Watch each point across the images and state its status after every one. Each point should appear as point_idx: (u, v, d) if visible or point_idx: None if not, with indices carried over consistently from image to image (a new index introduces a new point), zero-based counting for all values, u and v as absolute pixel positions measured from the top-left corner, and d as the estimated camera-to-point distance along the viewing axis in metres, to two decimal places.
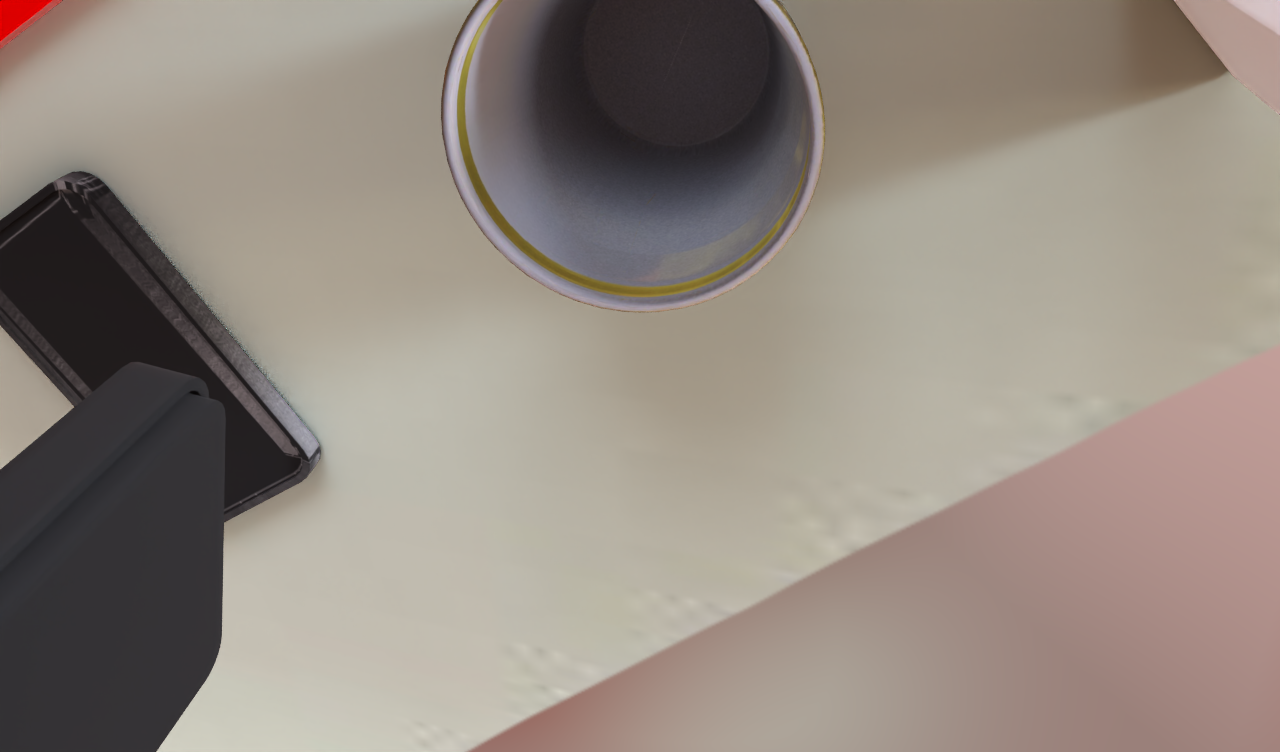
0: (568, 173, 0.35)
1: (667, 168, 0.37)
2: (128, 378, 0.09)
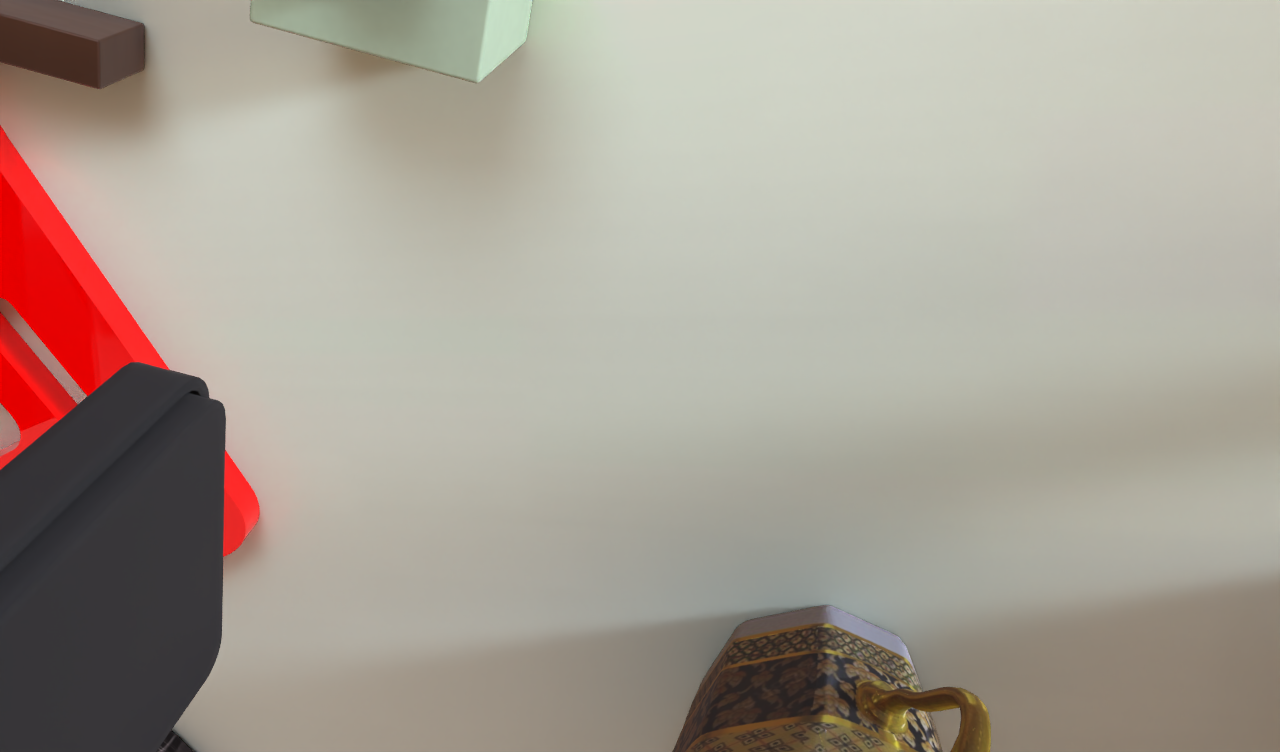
0: None
1: None
2: (127, 378, 0.09)
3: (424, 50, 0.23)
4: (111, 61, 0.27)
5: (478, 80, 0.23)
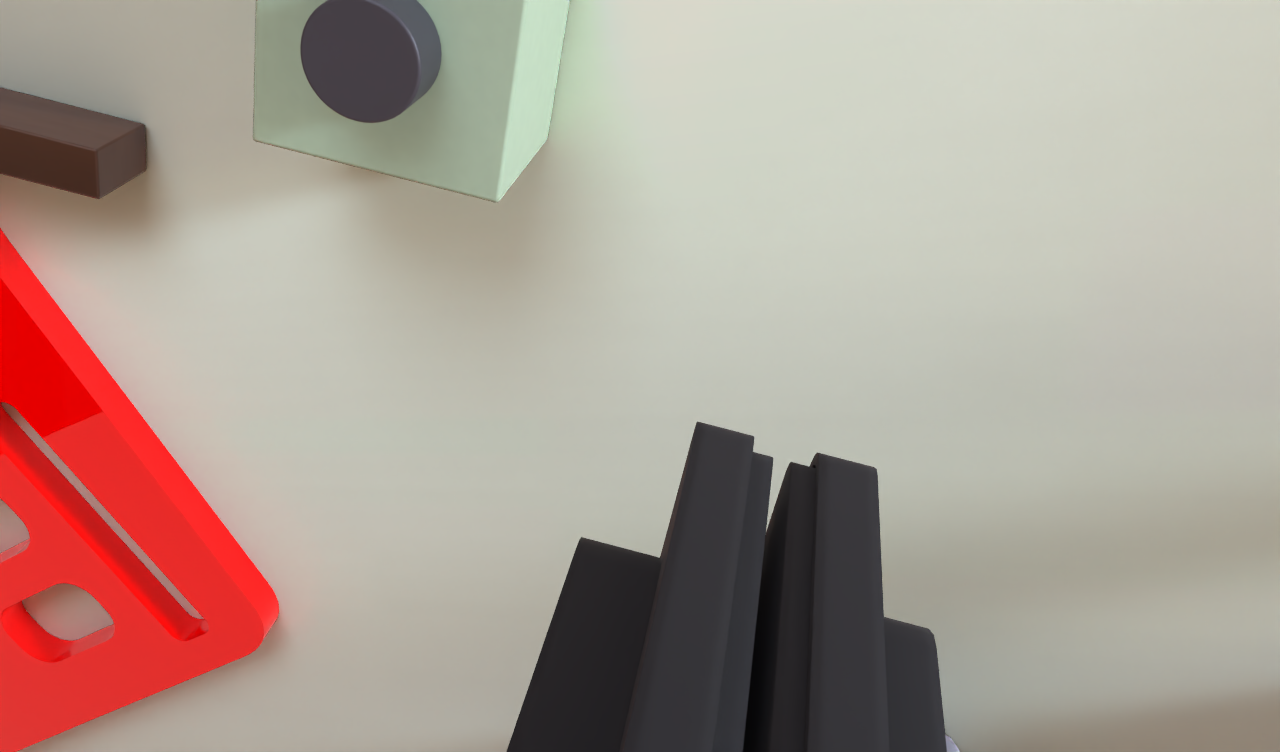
0: None
1: None
2: (708, 438, 0.09)
3: (440, 170, 0.22)
4: (110, 168, 0.26)
5: (498, 199, 0.22)
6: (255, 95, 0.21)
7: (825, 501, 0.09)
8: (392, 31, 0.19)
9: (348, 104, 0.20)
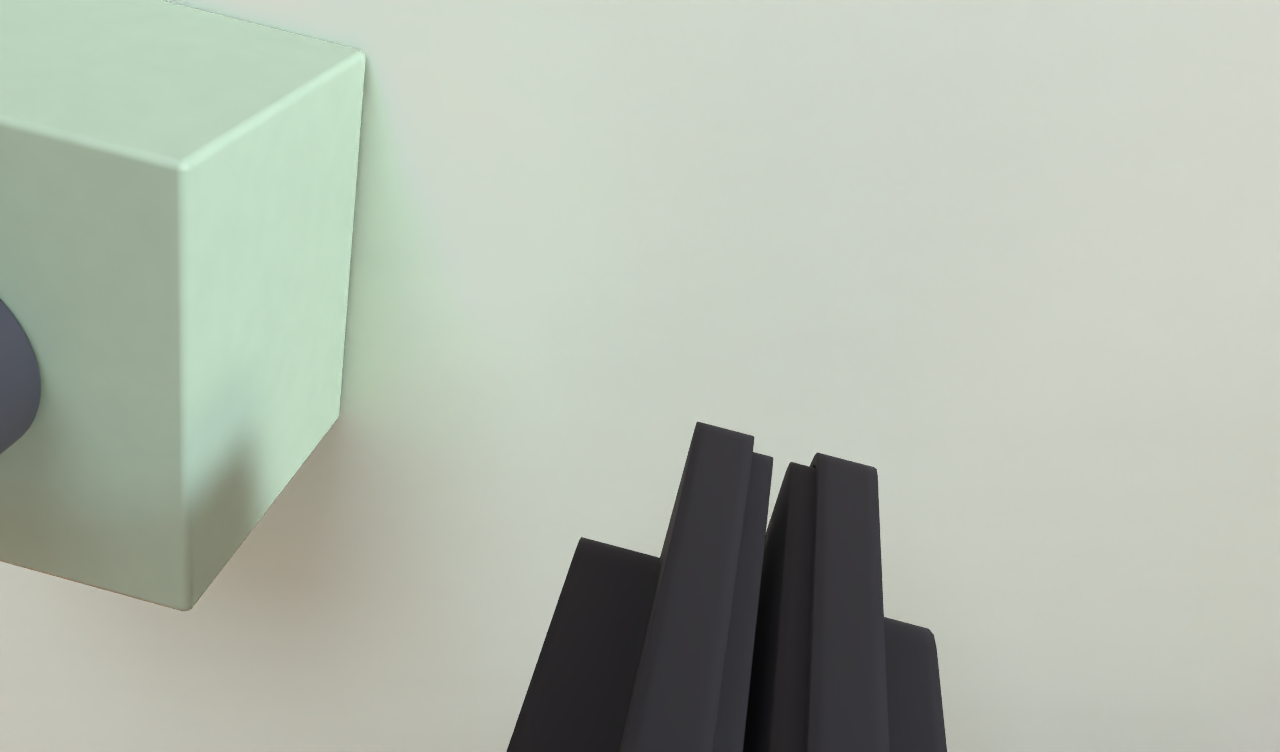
0: None
1: None
2: (708, 438, 0.09)
3: (76, 556, 0.12)
4: None
5: (188, 607, 0.12)
6: None
7: (825, 501, 0.09)
8: None
9: None
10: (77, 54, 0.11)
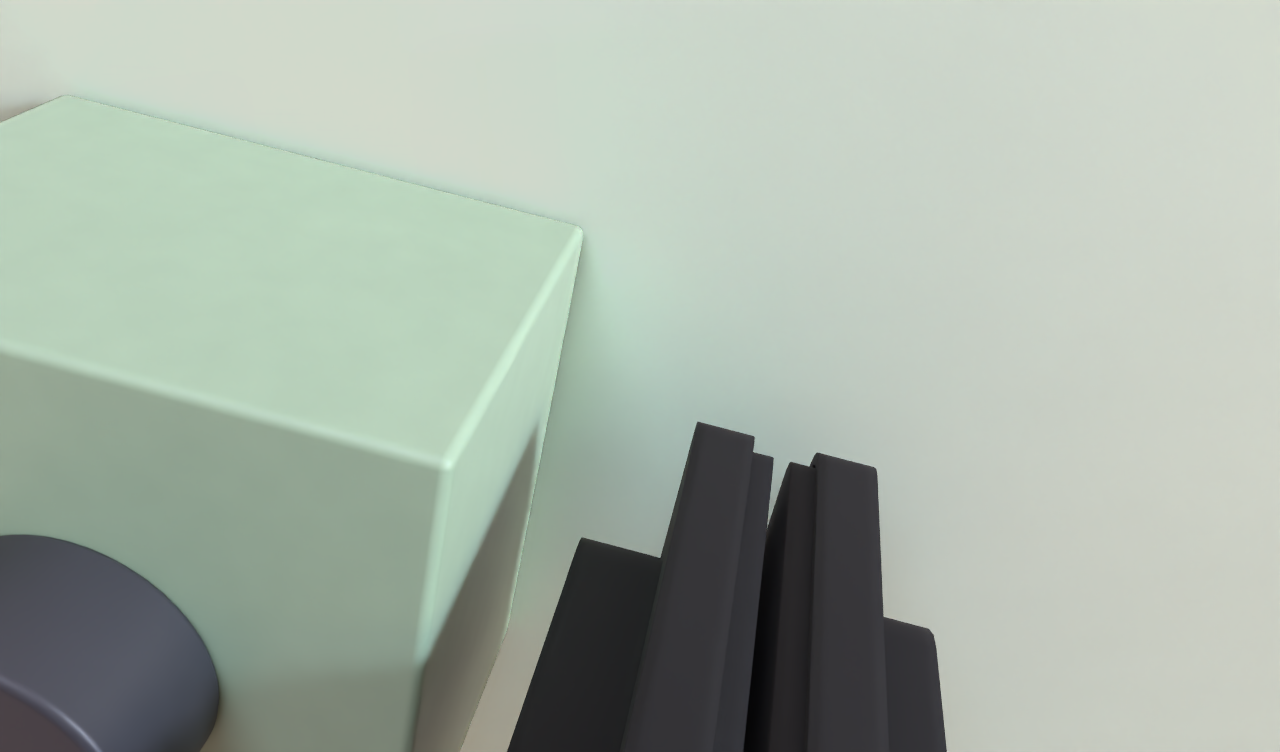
0: None
1: None
2: (709, 439, 0.09)
3: None
4: None
5: None
6: None
7: (825, 501, 0.09)
8: (39, 738, 0.07)
9: None
10: (263, 269, 0.08)
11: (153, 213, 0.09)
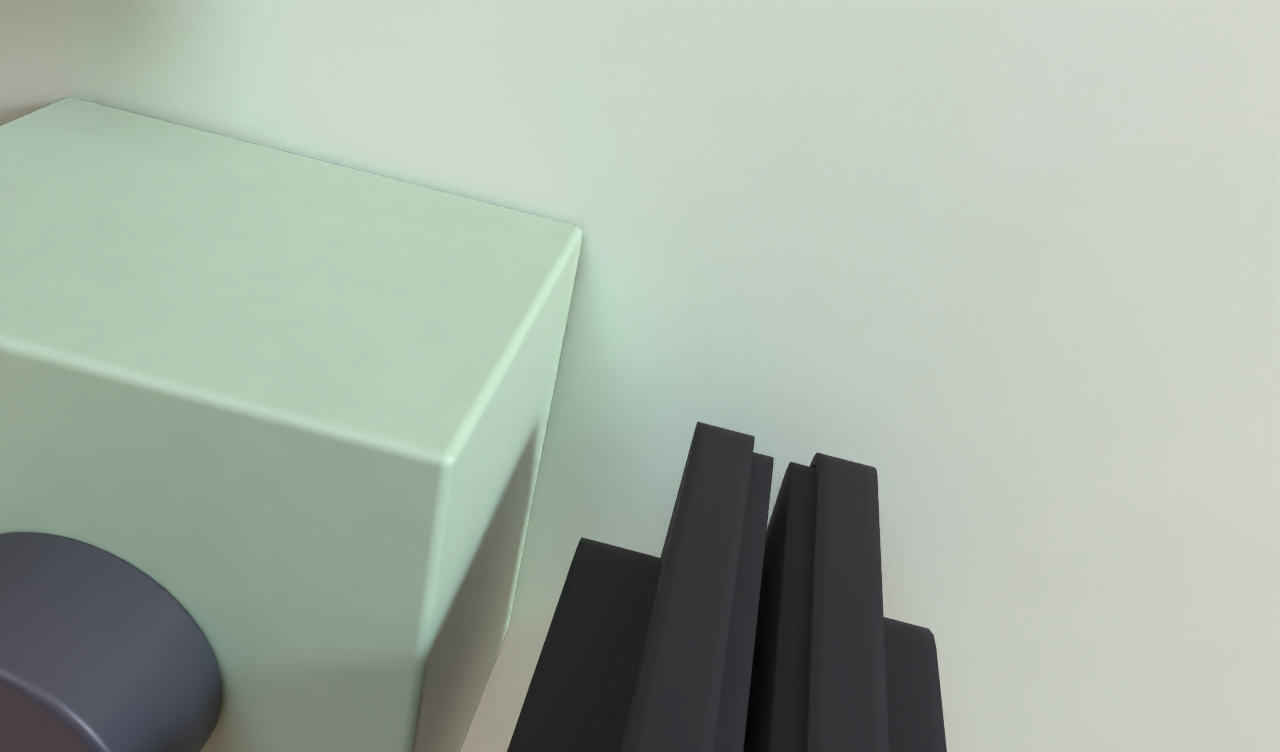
0: None
1: None
2: (709, 439, 0.09)
3: None
4: None
5: None
6: None
7: (825, 501, 0.09)
8: (44, 733, 0.07)
9: None
10: (266, 268, 0.08)
11: (156, 213, 0.09)
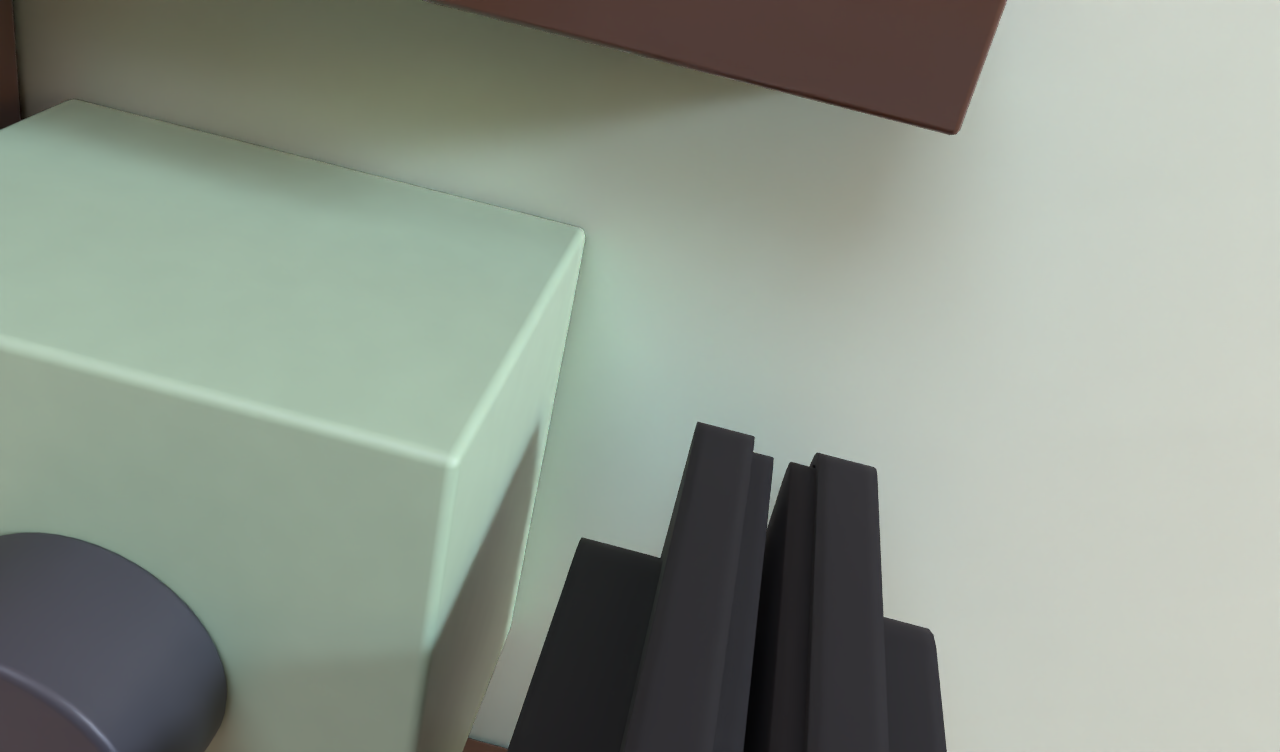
0: None
1: None
2: (709, 439, 0.09)
3: None
4: None
5: None
6: None
7: (824, 501, 0.09)
8: (51, 733, 0.07)
9: None
10: (269, 269, 0.08)
11: (161, 216, 0.09)
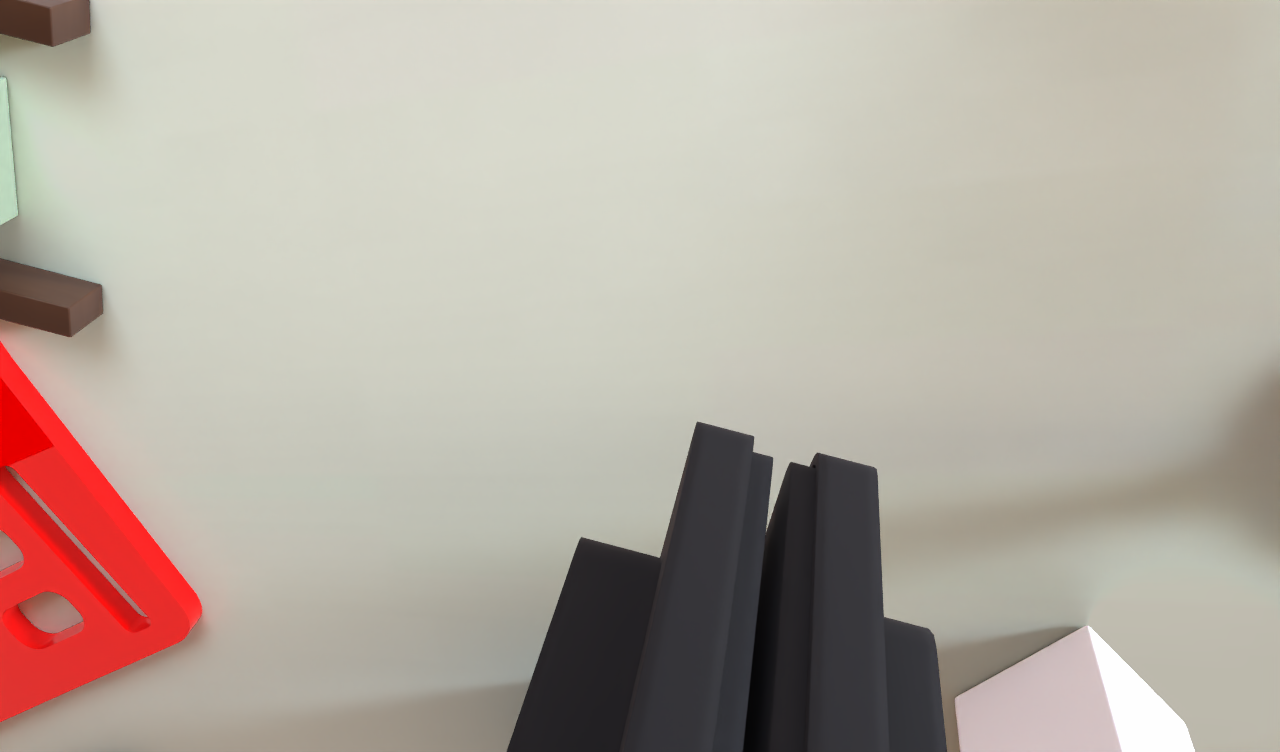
0: None
1: None
2: (709, 439, 0.09)
3: None
4: (78, 317, 0.39)
5: None
6: None
7: (825, 501, 0.09)
8: None
9: None
10: None
11: None
